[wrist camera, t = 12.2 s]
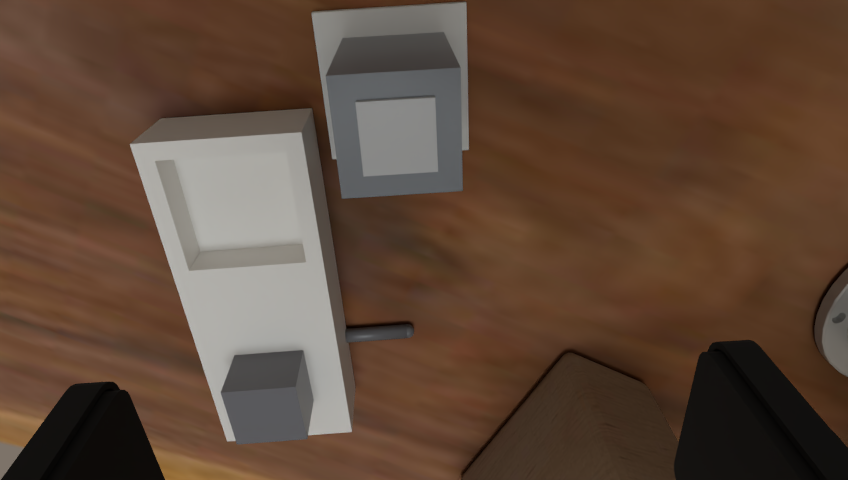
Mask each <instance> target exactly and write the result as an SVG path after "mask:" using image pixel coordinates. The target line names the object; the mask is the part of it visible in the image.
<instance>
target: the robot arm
mask: <svg viewBox="0 0 848 480" xmlns="http://www.w3.org/2000/svg"><path fill="white" fill-rule="evenodd" d="M814 332H815V342H816V344H817V347H818V349H819V352H820V353H821V354H822V356H823V357H824V358H825V359H826V361H828V362H829V363H830V364H831V365H832V366H833V367H834V368H835V369H836V370H837V371H838V372H840V373H842V374H843V375H845V376H847V377H848V268H847V269H846V270H845V271H844V272H843V273H842V274H841V275H840V277H839V278H838V279H837V280H836V281H835V282H834V283H833V285H832V286H831V288H830V289H829V291H828V292H827V294H826V296H825V297H824V299H823V301H822V303H821V305H820V308H819V310H818V313H817V316H816V321H815V327H814ZM674 473H675V478H676V480H848V448H847V447H846V445H845V444H844V443H843V442H842V441H841V440H840V438H839V437H838V436H837V435H836V434H835V433H834V432H833V431H832V430H831V429H830V428H829V427H828V426H827V424H826V423H825V422H824V421H823V420H822V419H821V417H820V416H819V415H818V414H817V413H816V412H815V410H814V409H813V408H812V407H811V406H810V405H809V403H808V402H807V401H806V400H805V399H804V398H803V396H802V395H801V394H800V393H799V392H798V391H797V389H796V388H795V387H794V386H793V385H792V384H791V382H790V381H789V380H788V379H787V378H786V377H785V375H784V374H783V373H782V372H781V371H780V370H779V369H778V367H777V366H776V365H775V364H774V363H773V362H772V360H771V359H770V358H769V357H768V356H767V355H766V353H765V352H764V351H763V350H762V349H761V348H760V346H759V345H757V344H756V343H755V342H754V341H751V340H741V341H726V342H715V343H712V344H711V345H710V347H709V349H708V352H702V353H701V354H700V356H699V359H698V363H697V367H696V371H695V375H694V380H693V384H692V388H691V392H690V397H689V401H688V405H687V410H686V414H685V418H684V422H683V427H682V431H681V435H680V439H679V444H678V448H677V452H676V456H675V461H674ZM1 480H165V479H164V476H163V474H162V471H161V469H160V467H159V464H158V462H157V460H156V457H155V455H154V452H153V450H152V448H151V445H150V443H149V440H148V438H147V436H146V433H145V431H144V428H143V426H142V424H141V421H140V419H139V416H138V414H137V412H136V409H135V407H134V405H133V402H132V400H131V397H130V395H129V394H128V392H127V391H125V390H120V389H119V387H118V386H117V384H115V383H114V382H97V383H81V384H74V385H72V386H70V387H69V388H68V389H67V391H66V392H65V393H64V394H63V396H62V397H61V398H60V400H59V401H58V403H57V404H56V405H55V407H54V408H53V409H52V411H51V412H50V413H49V415H48V416H47V418H46V419H45V420H44V422H43V423H42V424H41V426H40V427H39V429H38V430H37V431H36V433H35V434H34V435H33V437H32V438H31V439H30V441H29V442H28V444H27V445H26V446H25V448H24V449H23V450H22V452H21V453H20V454H19V456H18V457H17V459H16V460H15V461H14V463H13V464H12V466H11V467H10V468H9V469H8V471H7V472H6V474H5V475H4V476H3V478H2V479H1Z"/></svg>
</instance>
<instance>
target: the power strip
mask: <svg viewBox="0 0 848 480" xmlns="http://www.w3.org/2000/svg"><path fill="white" fill-rule="evenodd" d="M130 146H131V149H132V152H133V155H134V158H135V161H136V164H137V167H138V170H139V173H140V176H141V179H142V183H143V186H144V189H145V192H146V195H147V198H148V201H149V204H150V207H151V210H152V213H153V216H154V219H155V222H156V225H157V228H158V231H159V234H160V238H161V241H162V244H163V247H164V250H165V253H166V256H167V259H168V262H169V265H170V268H171V271H172V274H173V277H174V280H175V283H176V286H177V289H178V292H179V296H180V299H181V302H182V305H183V308H184V311H185V314H186V317H187V320H188V323H189V326H190V329H191V332H192V335H193V338H194V341H195V344H196V347H197V350H198V354H199V357H200V360H201V363H202V366H203V369H204V372H205V375H206V378H207V381H208V384H209V387H210V390H211V393H212V396H213V399H214V402H215V405H216V408H217V412H218V415H219V418H220V421H221V424H222V427H223V430H224V433H225V436H226V439H227V441H236V443H237V444H248V443H261V442H274V441H287V440H300V439H307V438H308V435H317V434H330V433H343V432H352V425H353V412H354V400H355V388H356V387H355V381H354V374H353V368H352V361H351V355H350V348H349V342H361V341H375V340H388V339H402V338H410V337H412V336H413V334H414V328H413V327H412V326H411V325H409V324H403V325H389V326H376V327H362V328H349V329H346V323H345V316H344V310H343V303H342V297H341V290H340V284H339V278H338V271H337V265H336V258H335V252H334V245H333V239H332V233H331V226H330V220H329V213H328V207H327V200H326V194H325V187H324V181H323V175H322V168H321V162H320V155H319V149H318V142H317V136H316V130H315V123H314V117H313V110H312V108H306V109H292V110H277V111H262V112H248V113H233V114H218V115H204V116H189V117H174V118H161V119H160V120H158V121H157V122H156V123H155V124H154V125H152V126H151V127H150V128H149V129H147V130H146V131H145V132H144V133H143V134H141V135H140V136H139V137H138V138H137V139H135V140H134V141H133V142H132V143H131V144H130Z"/></svg>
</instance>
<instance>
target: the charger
mask: <svg viewBox="0 0 848 480" xmlns="http://www.w3.org/2000/svg"><path fill="white" fill-rule="evenodd" d="M326 83H327V90H328V98H329V105H330V113H331V120H332V128H333V135H334V143H335V150H336V158H337V165H338V173H339V180H340V188H341V195H342V199H345V198H361V197H376V196H392V195H407V194H422V193H438V192H453V191H463V176H462V116H461V67H460V65H459V63H458V61H457V59H456V57H455V55H454V53H453V50H452V48H451V46H450V44H449V42H448V40H447V38H446V36H445V34H444V32H435V33H419V34H402V35H385V36H369V37H352V38H342V40H341V43H340V45H339V47H338V49H337V52H336V54H335V56H334V58H333V60H332V63H331V65H330V67H329V69H328V72H327V74H326Z"/></svg>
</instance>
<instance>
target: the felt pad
mask: <svg viewBox="0 0 848 480" xmlns="http://www.w3.org/2000/svg"><path fill="white" fill-rule="evenodd" d="M311 14H312V21H313V28H314V35H315V42H316V49H317V56H318V63H319V69H320V76H321V83H322V90H323V97H324V104H325V111H326V118H327V125H328V132H329V139H330V146H331V153H332V159H337V158H336V150H335V143H334V135H333V128H332V120H331V113H330V105H329V98H328V90H327V83H326V74H327V72H328V69H329V67H330V65H331V63H332V60H333V58H334V56H335V54H336V52H337V49H338V47H339V45H340V43H341V40H342V38H352V37H369V36H385V35H402V34H419V33H435V32H444V34H445V36H446V38H447V40H448V42H449V44H450V46H451V48H452V50H453V53H454V55H455V57H456V59H457V61H458V63H459V65H460V67H461V116H462V150H469V126H468V67H467V7H466V2H449V3H434V4H419V5H404V6H388V7H373V8H358V9H343V10H327V11H313V12H312V13H311Z"/></svg>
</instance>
